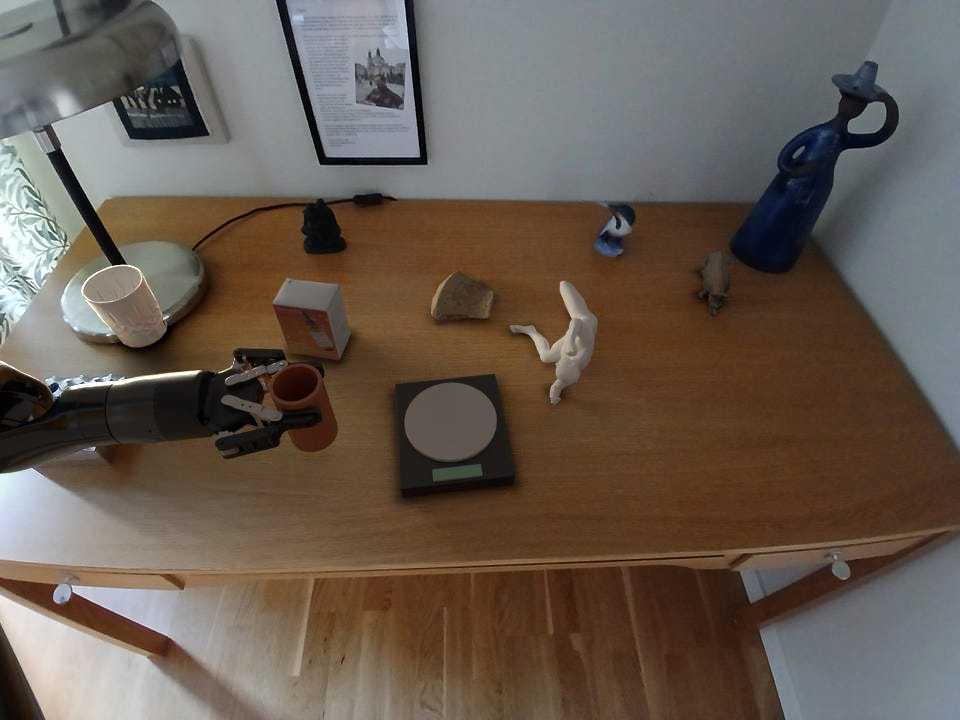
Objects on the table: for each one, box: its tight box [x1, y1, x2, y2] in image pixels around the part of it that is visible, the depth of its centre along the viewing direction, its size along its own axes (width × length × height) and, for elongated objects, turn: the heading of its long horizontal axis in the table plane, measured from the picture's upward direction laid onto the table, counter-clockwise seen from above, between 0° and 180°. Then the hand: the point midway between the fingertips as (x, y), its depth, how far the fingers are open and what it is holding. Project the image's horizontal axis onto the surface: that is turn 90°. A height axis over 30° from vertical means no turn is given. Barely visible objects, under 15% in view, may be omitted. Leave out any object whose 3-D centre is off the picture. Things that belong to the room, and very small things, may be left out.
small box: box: [271, 277, 352, 361], centre depth 80 cm, size 8×6×10 cm
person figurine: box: [509, 280, 599, 406], centre depth 80 cm, size 13×13×18 cm
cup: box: [268, 363, 339, 453], centre depth 65 cm, size 6×6×10 cm
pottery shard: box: [430, 270, 498, 322], centre depth 89 cm, size 11×4×10 cm
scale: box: [394, 373, 516, 499], centre depth 73 cm, size 16×14×3 cm
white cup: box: [81, 264, 168, 348], centre depth 82 cm, size 8×8×10 cm
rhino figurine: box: [698, 250, 731, 318], centre depth 90 cm, size 4×14×6 cm, turn 165°
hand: (321, 391), depth 63 cm, fingers closed on cup, 5 cm apart
